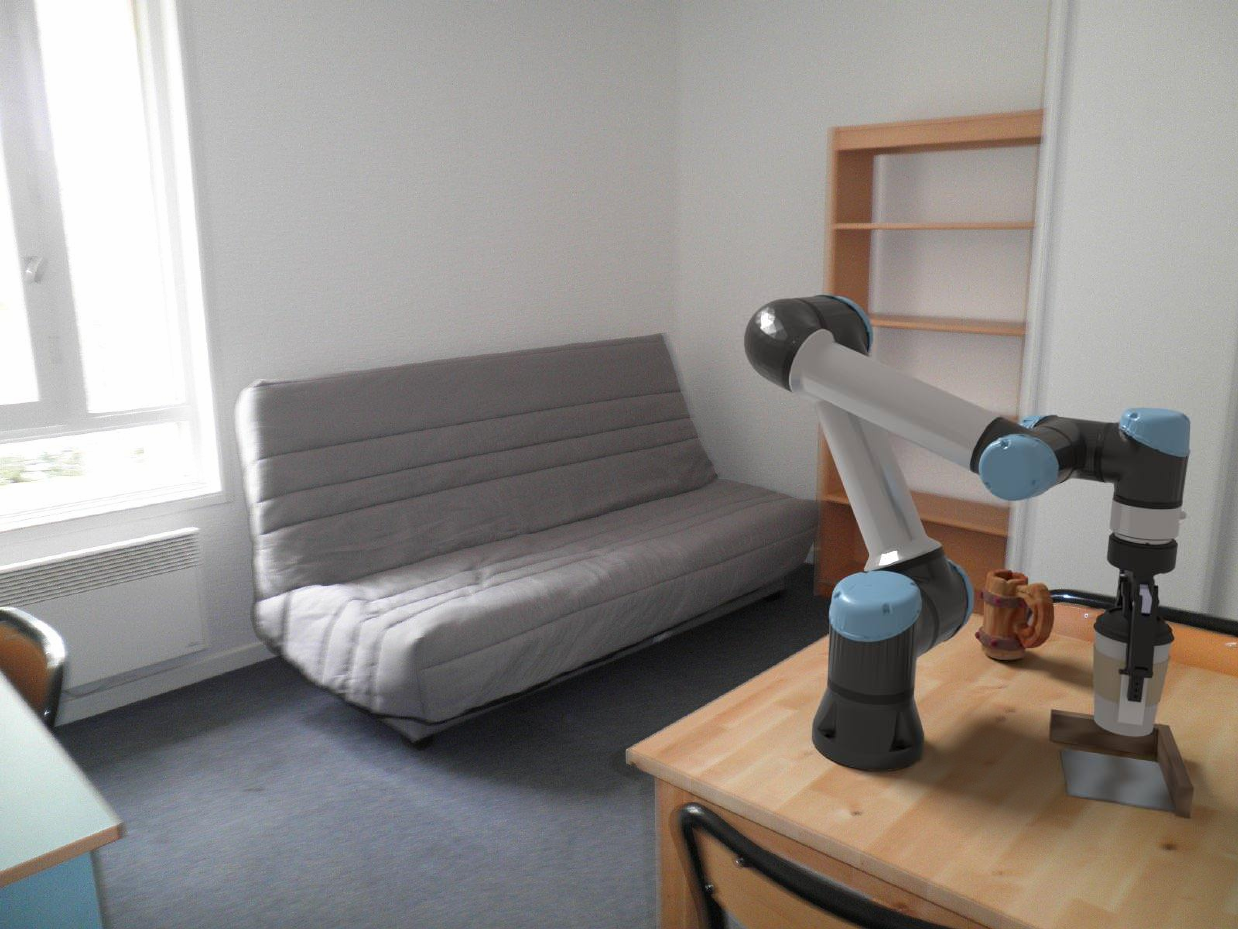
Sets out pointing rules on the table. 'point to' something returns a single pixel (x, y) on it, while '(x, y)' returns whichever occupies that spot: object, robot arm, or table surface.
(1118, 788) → the arena
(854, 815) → the table surface
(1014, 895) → the table surface
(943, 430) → the robot arm
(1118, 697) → the coffee cup
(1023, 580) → the mug
